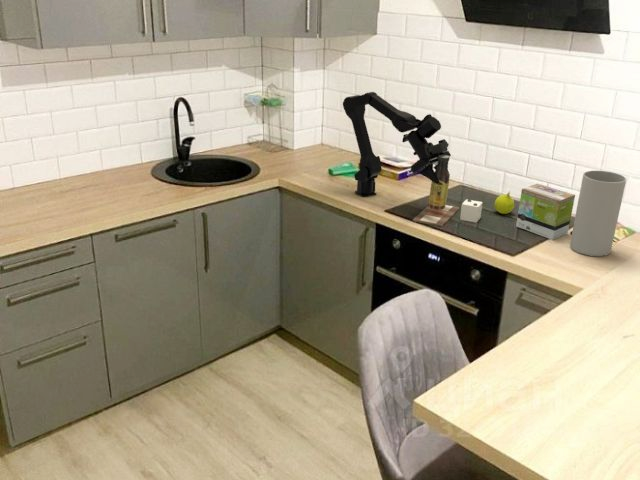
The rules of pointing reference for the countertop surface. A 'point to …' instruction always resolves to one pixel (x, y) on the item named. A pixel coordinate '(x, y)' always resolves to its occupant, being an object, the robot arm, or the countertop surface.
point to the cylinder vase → (597, 212)
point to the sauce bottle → (440, 184)
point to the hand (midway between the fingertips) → (443, 181)
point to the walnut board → (436, 215)
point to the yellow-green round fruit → (504, 204)
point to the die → (471, 210)
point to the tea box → (545, 211)
